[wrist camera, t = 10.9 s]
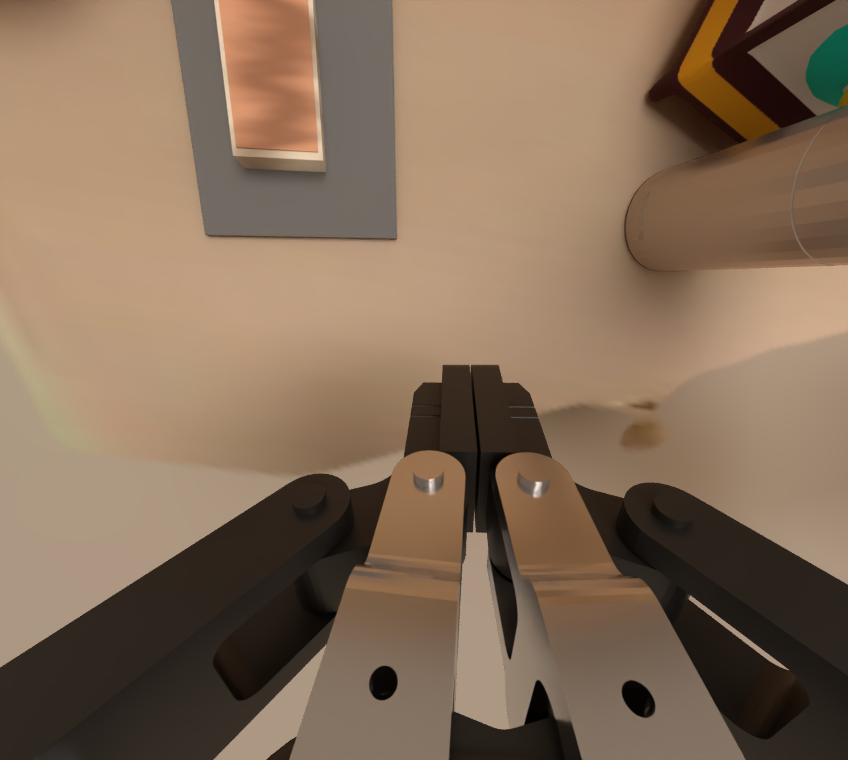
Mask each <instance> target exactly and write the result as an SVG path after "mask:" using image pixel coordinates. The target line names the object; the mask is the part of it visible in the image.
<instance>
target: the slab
mask: <svg viewBox="0 0 848 760" xmlns="http://www.w3.org/2000/svg"><path fill="white" fill-rule="evenodd" d="M214 4H215V12H216V20H217V29H218V37H219V45H220V53H221V62H222V70H223V78H224V86H225V95H226V103H227V111H228V119H229V127H230V136H231V144H232V152H233V156H234V157H235V158H236V159H237V161H238V162H239V163H240V164H241V165H242V166H243V167H244V168H245V169H266V170H287V171H308V172H326V160H325V145H324V129H323V113H322V97H321V82H320V66H319V50H318V34H317V19H316V3H315V0H214Z"/></svg>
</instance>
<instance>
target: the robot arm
mask: <svg viewBox="0 0 848 760" xmlns="http://www.w3.org/2000/svg"><path fill="white" fill-rule="evenodd" d="M626 238H627V243H628V246H629V249H630V251H631V253H632V254H633V256H634V258H635V259H636V260H637V261H638V262H639V263H640V264H641V265H643V266H645V267H646V268H648V269H651V270H655V271H676V270H714V269H745V268H776V267H807V266H834V265H848V105H846V106H844V107H841V108H838V109H835V110H832V111H830V112H827V113H824V114H821V115H818V116H816V117H813V118H810V119H807V120H804V121H801V122H799V123H796V124H793V125H790V126H787V127H785V128H782V129H779V130H776V131H773V132H771V133H768V134H765V135H762V136H759V137H757V138H754V139H751V140H748V141H745V142H742V143H740V144H737V145H734V146H731V147H728V148H726V149H723V150H720V151H717V152H714V153H712V154H709V155H706V156H703V157H700V158H697V159H694V160H692V161H689V162H686V163H683V164H680V165H678V166H675V167H672V168H669V169H666V170H664V171H661V172H659V173H657V174H655V175H653V176H652V177H651V178H649V179H648V180H647V181H646V182H645V183H644V184H643V185H642V186H641V187H640V188H639V189H638V191H637V193H636V194H635V196H634V198H633V199H632V202H631V204H630V207H629V209H628V214H627V218H626ZM474 512H475V526H476V532H482V533H483V532H484V533H487V538H488V560H487V569H488V575H489V581H490V587H491V593H492V599H493V605H494V611H495V616H496V622H497V628H498V634H499V640H500V646H501V652H502V657H503V664H504V671H505V689H506V690H505V691H506V705H507V715H508V722H509V729H507V730H501V729H496V728H493V727H491V726H488V725H486V724H483V723H481V722H478V721H476V720H473V719H471V718H469V717H466V716H464V715H461V714H459V713H456V712H455V700H456V678H457V657H458V656H457V655H458V638H459V619H460V600H461V580H462V564H463V562H464V559H465V556H466V537H467V535H466V534H467V532H473V521H474ZM690 595H691V596H692V597H694V598H695V599H696V600H698V601H699V602H700V603H702V604H703V605H704V606H706V607H707V608H708V609H710V610H711V611H712V612H714V613H715V614H716V615H718V616H719V617H720V618H721V619H723V620H724V621H726V622H727V623H728V624H729V625H731V626H732V627H733V628H735V629H736V630H737V631H739V632H740V633H741V634H743V635H744V636H745V637H747V638H748V639H750V640H751V641H752V642H753V643H755V644H756V645H757V646H759V647H760V648H761V649H763V650H764V651H765V652H766V653H768V654H769V655H770V656H772V657H773V658H774V659H776V660H777V661H778V662H780V663H781V664H782V665H784V666H785V667H786V668H787V669H789V670H790V671H789V670H786V669H783V668H781V667H779V666H777V665H775V664H773V663H771V662H770V661H768V660H767V659H766V658H764V657H763V656H762V655H760V654H759V653H758V652H756V651H755V650H754V649H753V648H751V647H750V646H749V645H747V644H746V643H745V642H743V641H742V640H741V639H739V638H738V637H737V636H735V635H734V634H733V633H732V632H730V631H729V630H728V629H726V628H725V627H724V626H723V625H721V624H720V623H719V622H717V621H716V620H715V619H713V618H712V617H711V616H709V615H708V614H707V613H706V612H704V611H703V610H701V609H700V608H699V607H698V606H696V605H695V604H694V603H693V602H691V601H690V600H689V599H688V598H689V597H690ZM326 644H327V645H326ZM325 645H326V648H325V651H324V655H323V657H322V661H321V664H320V667H319V670H318V673H317V676H316V679H315V682H314V685H313V688H312V691H311V695H310V697H309V701H308V704H307V707H306V710H305V713H304V716H303V719H302V722H301V725H300V728H299V731H298V735H297V737H295V738H293V739H292V740H290V741H289V742H288V743H286V744H285V745H284V746H282V747H281V748H280V749H279V750H277V751H276V752H275V753H274V754H272V755H271V756H270V757H269V758H268V759H267V760H848V585H847V584H845V583H844V582H842V581H840V580H839V579H837V578H835V577H833V576H832V575H830V574H828V573H827V572H825V571H823V570H821V569H819V568H818V567H816V566H814V565H813V564H811V563H809V562H807V561H806V560H804V559H802V558H800V557H799V556H797V555H795V554H793V553H792V552H790V551H788V550H787V549H785V548H783V547H781V546H779V545H778V544H776V543H774V542H772V541H771V540H769V539H767V538H766V537H764V536H762V535H760V534H759V533H757V532H755V531H753V530H752V529H750V528H748V527H746V526H745V525H743V524H741V523H739V522H738V521H736V520H734V519H733V518H731V517H729V516H727V515H726V514H724V513H722V512H720V511H719V510H717V509H715V508H713V507H712V506H710V505H708V504H706V503H705V502H703V501H701V500H699V499H698V498H696V497H694V496H692V495H691V494H689V493H686V492H685V491H683V490H680V489H678V488H675V487H672V486H669V485H665V484H660V483H641V484H638V485H635V486H633V487H631V488H630V489H629V490H628V491H627V492H626V494H625V497H624V498H621V497H617V496H613V495H609V494H606V493H602V492H597V491H594V490H591V489H588V488H585V487H583V486H581V485H578V484H576V483H575V482H574V481H573V479H572V477H571V475H570V474H569V472H568V471H567V470H566V469H565V468H564V467H563V466H562V465H561V464H560V463H558V462H557V461H555V460H554V459H552V456H551V454H550V450H549V448H548V445H547V442H546V439H545V436H544V433H543V430H542V427H541V424H540V422H539V419H538V416H537V413H536V410H535V408H534V404H533V401H532V398H531V395H530V393H529V392H528V391H526V390H525V389H524V388H523V387H522V386H521V385H520V384H519V383H503V382H502V377H501V373H500V369H499V366H498V365H471V373H470V367H469V365H443V373H442V383H423V384H422V385H421V386H420V387H419V388H418V389H417V390H416V391H415V392H414V396H413V403H412V409H411V418H410V421H409V428H408V434H407V440H406V446H405V453H404V458H403V459H401V460H400V461H399V462H398V463H397V465H396V466H395V468H394V470H393V472H392V475H391V476H390V477H388V478H386V479H385V480H383V481H381V482H378V483H376V484H372V485H368V486H364V487H360V488H355V489H351V490H349V489H348V486H347V485H346V483H345V482H344V481H343V480H341V479H340V478H338V477H336V476H333V475H329V474H312V475H307V476H304V477H301V478H298V479H296V480H294V481H292V482H290V483H289V484H287V485H285V486H284V487H282V488H281V489H279V490H278V491H276V492H275V493H273V494H271V495H270V496H268V497H267V498H265V499H264V500H262V501H260V502H259V503H257V504H256V505H254V506H253V507H251V508H249V509H248V510H246V511H245V512H243V513H242V514H240V515H238V516H237V517H235V518H234V519H232V520H231V521H229V522H227V523H226V524H224V525H223V526H221V527H220V528H218V529H217V530H215V531H213V532H212V533H210V534H209V535H207V536H206V537H204V538H202V539H201V540H199V541H198V542H196V543H195V544H193V545H191V546H190V547H188V548H187V549H185V550H184V551H182V552H180V553H179V554H177V555H176V556H174V557H173V558H171V559H169V560H168V561H166V562H165V563H163V564H162V565H160V566H159V567H157V568H155V569H154V570H152V571H151V572H149V573H148V574H146V575H144V576H143V577H141V578H140V579H138V580H137V581H135V582H133V583H132V584H130V585H129V586H127V587H126V588H124V589H122V590H121V591H119V592H118V593H116V594H115V595H113V596H112V597H110V598H108V599H107V600H105V601H104V602H102V603H101V604H99V605H97V606H96V607H94V608H93V609H91V610H90V611H88V612H86V613H85V614H83V615H82V616H80V617H79V618H77V619H75V620H74V621H72V622H71V623H69V624H68V625H66V626H64V627H63V628H61V629H60V630H58V631H57V632H55V633H53V634H52V635H50V636H49V637H47V638H46V639H44V640H43V641H41V642H39V643H38V644H36V645H35V646H33V647H32V648H30V649H28V650H27V651H25V652H24V653H22V654H21V655H19V656H18V657H16V658H14V659H13V660H11V661H10V662H8V663H7V664H5V665H3V666H2V667H0V760H213V759H214V758H215V757H216V756H217V755H218V754H219V753H220V752H221V751H222V750H223V749H224V748H225V747H226V746H227V745H228V744H229V743H230V742H231V741H232V740H233V739H234V738H235V737H236V736H237V735H238V734H239V733H240V732H241V731H242V730H243V729H244V728H245V727H246V726H247V725H248V724H249V723H250V722H251V720H252V719H253V718H255V716H256V715H257V714H258V713H259V712H260V711H261V710H262V709H263V708H264V707H265V706H266V705H267V704H268V703H269V702H270V701H271V700H272V699H273V698H274V697H275V696H276V695H277V694H278V693H279V692H280V691H281V690H282V689H283V688H284V687H285V686H286V685H287V684H288V683H289V682H290V681H291V680H292V679H293V678H294V677H295V676H296V675H297V673H299V672H300V671H301V669H303V667H304V666H305V665H306V664H307V663H308V662H309V661H310V660H311V659H312V658H313V657H314V656H315V655H316V654H317V653H318V652H319V651H320V650H321V649H322V648H323V647H324V646H325Z"/></svg>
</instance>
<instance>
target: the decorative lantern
mask: <svg viewBox="0 0 848 760" xmlns="http://www.w3.org/2000/svg"><path fill="white" fill-rule="evenodd" d="M672 96H679V97H682V98H684V99H685V100H687V101H689V102H690V103H691V104H692V105H693V106H695V107H696V108H697V109H698V110H700V111H701V112H702V113H703V114H704V115H706V116H707V117H708V118H709V119H711V120H712V121H713V122H714V123H715V124H717V125H718V126H719V127H720V128H722V129H723V130H724V131H725V132H726V133H728V134H729V135H730V136H731V137H733V138H734V139H735V140H736V141H737V142H739V143H742V142H745V141H748V140H751V139H754V138H757V137H759V136H762V135H765V134H768V133H771V132H773V131H776V130H779V129H782V128H785V127H787V126H790V125H793V124H796V123H799V122H801V121H804V120H807V119H810V118H813V117H816V116H818V115H821V114H824V113H827V112H830V111H832V110H835V109H838V108H841V107H844V106H846V105H848V0H710V1H709V3H708V4H707V6H706V8H705V10H704V12H703V14H702V16H701V18H700V20H699V22H698V24H697V26H696V28H695V30H694V32H693V34H692V36H691V37H690V39H689V41H688V43H687V45H686V47H685V49H684V51H683V53H682V55H681V56H680V58H679V60H678V61H677V62H676V64H675V65H674V67H673V68H672V69H671V71H670V72H668V73H667V74H666V75H665V76H664V77H663V78H662V79H660V80H659V81H658V82H657V83H656V84H655V85H654V86H653V87H652V88H651V90H650V91H649V99H650V101H654V102H657V101H660V100H663V99H666V98H669V97H672Z"/></svg>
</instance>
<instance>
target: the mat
mask: <svg viewBox="0 0 848 760" xmlns="http://www.w3.org/2000/svg"><path fill="white" fill-rule="evenodd" d="M171 3H172V10H173V17H174V24H175V31H176V37H177V44H178V51H179V58H180V65H181V72H182V79H183V85H184V92H185V99H186V106H187V113H188V120H189V126H190V133H191V140H192V147H193V154H194V161H195V168H196V174H197V181H198V188H199V195H200V202H201V209H202V216H203V222H204V229H205V235H208V236H254V237H311V238H367V239H397V221H396V170H395V120H394V69H393V18H392V0H315V3H316V19H317V34H318V50H319V66H320V82H321V97H322V113H323V129H324V145H325V160H326V172H308V171H287V170H266V169H245V168H244V167H243V166H242V165H241V164H240V163H239V162H238V161H237V159H236V158H235V157H234V156H233V152H232V144H231V136H230V127H229V119H228V111H227V103H226V95H225V86H224V78H223V70H222V62H221V53H220V45H219V37H218V29H217V20H216V12H215V4H214V0H171Z"/></svg>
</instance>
